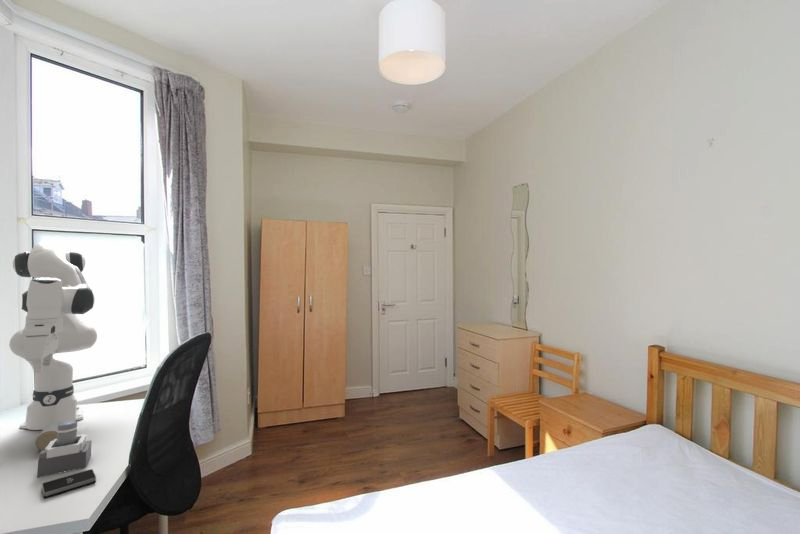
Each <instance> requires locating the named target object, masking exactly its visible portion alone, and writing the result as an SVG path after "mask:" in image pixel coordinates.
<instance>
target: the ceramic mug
mask: <svg viewBox="0 0 800 534" xmlns="http://www.w3.org/2000/svg"><path fill="white" fill-rule="evenodd" d="M61 423H64V422H53V423H51V424H49V425H47V426H46V427H45V428H44V429H42V430H41V432H40V433H39V434H38V435H37V437H36V439H35V443H34V444H35V447H36V449H38V451H40V452H41V451H43V450H45V448H46V447H47V446H48V444H49V443H50V442H51V441H54V439H57V428H58V425H59V424H61Z"/></svg>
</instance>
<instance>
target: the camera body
mask: <svg viewBox="0 0 800 534" xmlns="http://www.w3.org/2000/svg"><path fill="white" fill-rule="evenodd" d="M91 457H92V440H91V439H90V440H87V434H84V433H83V434H77V440H76V444H71V445H65V446H59V447H57V439H54V441H51V442H50V443H49V444H48V446H47V447H46V448H45V450H43V451H40V452H39V454H38V460H37V475H36V477H37V478H41V477H40V476H42V477H46V476H45V475H47V476H51V474H52V475H56V474H55V473H57V474H60V473H59V472H62V473H65V472H64V471H67V472H69V471H68V470H71V471H74V470H73V469H76V470H80V469H79V468H81V469H85V468H84V467H86V468H87V466H86V465H88V463H89V461H90V459H91Z"/></svg>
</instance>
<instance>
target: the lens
mask: <svg viewBox="0 0 800 534" xmlns="http://www.w3.org/2000/svg"><path fill="white" fill-rule="evenodd" d="M77 435H78V420H77V421H69V422H65V423H61V424H59V425H58V428H57V447H59V446H65V445H71V444H76V440H77Z"/></svg>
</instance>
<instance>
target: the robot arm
mask: <svg viewBox="0 0 800 534" xmlns="http://www.w3.org/2000/svg"><path fill="white" fill-rule="evenodd" d="M85 267H86V259H85V257H84V255H83V253H82V252H80V251H78V250H75V249H70V250H64V249H63V247H62V246H61V245H60V244H59V243H56V242H53V241H46V240H45V241H40V242H38V243H36V244H35V245H34V246H33V247H32V248H31V249H30V251H23V252H19V253H17V254H16V255H15V256H14V259H13V261H12V268H13V270H14V271H15V273H16V275H18V276H19V277H20V278H21V277H22V278H31V277H32V279H31V280H30V281H29V285H28V288H27V290H26V291H24V293H22V294H21V297H22V299H21V303H22V304H21V310H22V311H24V312H26V313H27V314H26V316H25V325H24V328H23V329H22V330H17V331H16V332H15V333H14V334H13V335H11V338H10V340H9V345H8V346H9V349H10V350H11V352H12V353H13V354H14V355H15V356H17V357H20V358H22V359H24V360H25V361H26V362H28V363H29V365H30V366H31V368H32V370H33V374H34V390H32V402H31V403H29V404H28V405H27V407H26V414H25V422H23V423H21V424H19V429H27V430H31V431H39V430H40V431H42V430H43V429H44V428H45V427H46V426H47V425H49V424H51V423H53V422H64V423H65V422H69V421H77V422H78V421H80V420H83V419H84V414H83V409H82V407H79V406H77V404H78V400H77V398H76V396H75V395H74V392H75V388H74V384H73V374H74V369H73V366H72V365H71V364H70V363H68V362H64V361H61V360H58V359H55V358H54V357H53V355H56V354H61V353H63V354H64V353H73V352H79V351H83V350H87V349H90V348H92V347H93V346H94V344H96V341H97V339H98V333H97V331H96V329H95V328H94V327H93V326H92V325H90V324H87V323H85V322H83V321H82V320H81V319H80V318H79V317H78V316H77V315H84V314H86V313H89V311H91V310H92V309H93V308H94V306H95V305H94V304H95V294H94V292H93V290H92V289H91V288H90V287H89V285H88V284H87V281H86V280H85V279H86V278H85V277H84V276H83V271H84V269H85Z"/></svg>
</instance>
